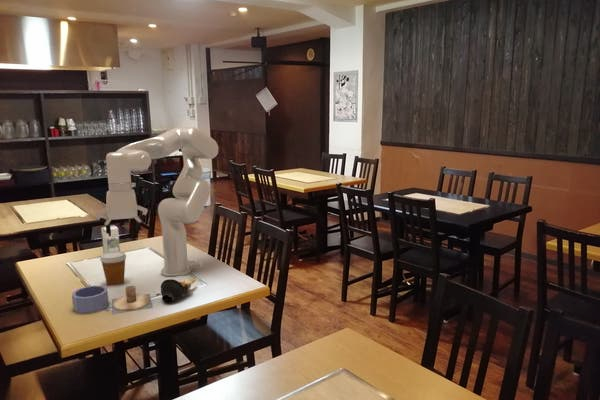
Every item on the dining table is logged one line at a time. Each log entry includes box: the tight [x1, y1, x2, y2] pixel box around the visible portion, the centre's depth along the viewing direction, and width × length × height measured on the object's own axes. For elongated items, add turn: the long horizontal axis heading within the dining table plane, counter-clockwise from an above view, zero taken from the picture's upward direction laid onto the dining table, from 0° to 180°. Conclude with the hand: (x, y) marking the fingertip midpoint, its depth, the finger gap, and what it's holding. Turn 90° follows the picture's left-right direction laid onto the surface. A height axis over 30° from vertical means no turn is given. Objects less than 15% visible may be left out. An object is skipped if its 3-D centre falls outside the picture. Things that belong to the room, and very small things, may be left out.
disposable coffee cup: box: [99, 251, 127, 287], centre depth 177 cm, size 10×10×12 cm
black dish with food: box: [160, 277, 197, 304], centre depth 165 cm, size 9×11×18 cm
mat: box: [111, 293, 154, 315], centre depth 158 cm, size 13×13×1 cm
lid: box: [113, 285, 150, 312], centre depth 158 cm, size 12×12×6 cm
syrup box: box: [101, 225, 121, 254], centre depth 209 cm, size 6×6×14 cm
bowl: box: [71, 284, 109, 314], centre depth 156 cm, size 11×11×6 cm
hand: (124, 233), depth 163 cm, fingers open, 9 cm apart
